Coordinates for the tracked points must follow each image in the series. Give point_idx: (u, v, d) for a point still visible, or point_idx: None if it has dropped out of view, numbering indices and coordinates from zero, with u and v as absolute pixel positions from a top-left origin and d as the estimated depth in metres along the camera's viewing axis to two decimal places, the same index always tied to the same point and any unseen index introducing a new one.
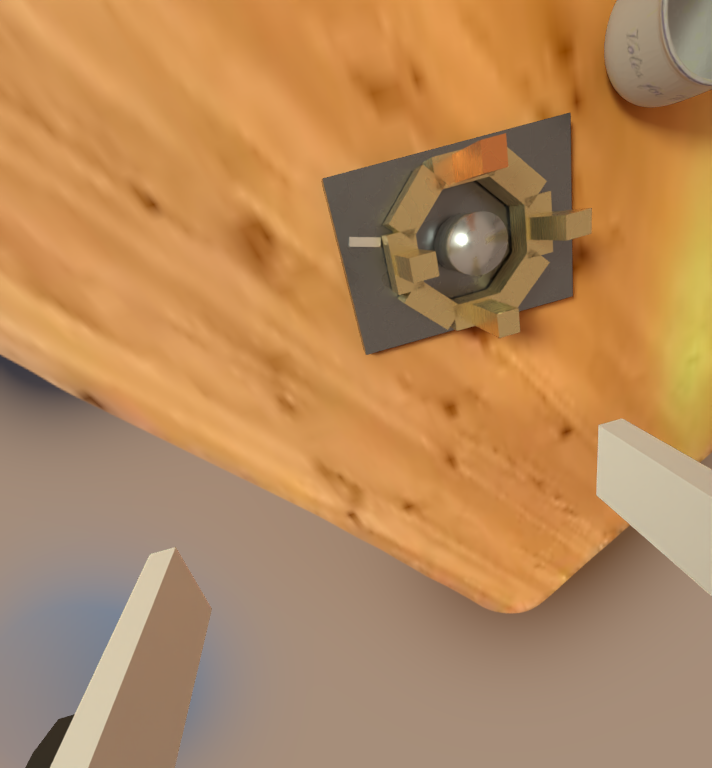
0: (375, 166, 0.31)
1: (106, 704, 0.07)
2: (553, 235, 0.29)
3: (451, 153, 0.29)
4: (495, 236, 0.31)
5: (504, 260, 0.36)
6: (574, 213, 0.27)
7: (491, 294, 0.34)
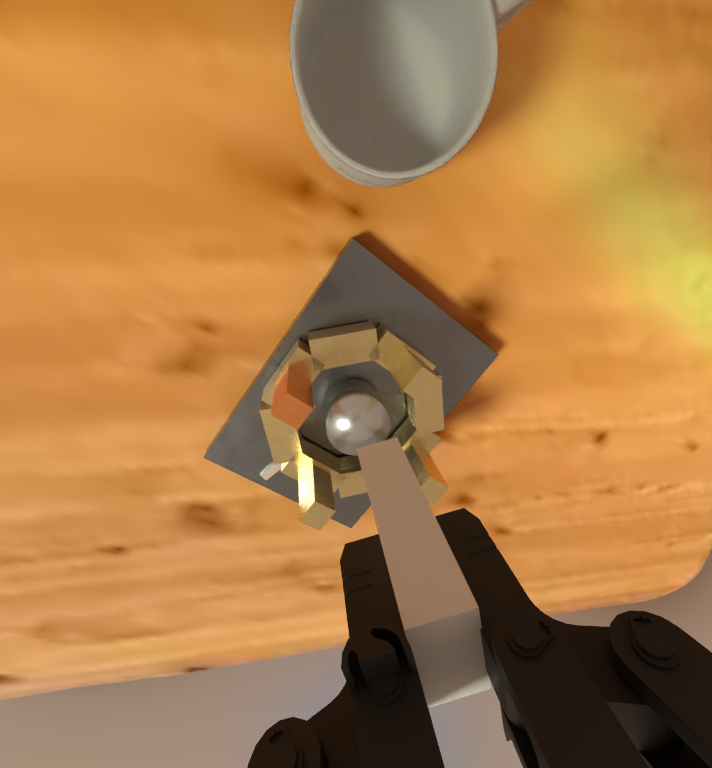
0: (232, 418, 0.31)
1: (399, 521, 0.10)
2: None
3: (273, 384, 0.28)
4: (367, 412, 0.28)
5: None
6: (410, 382, 0.24)
7: (410, 434, 0.31)
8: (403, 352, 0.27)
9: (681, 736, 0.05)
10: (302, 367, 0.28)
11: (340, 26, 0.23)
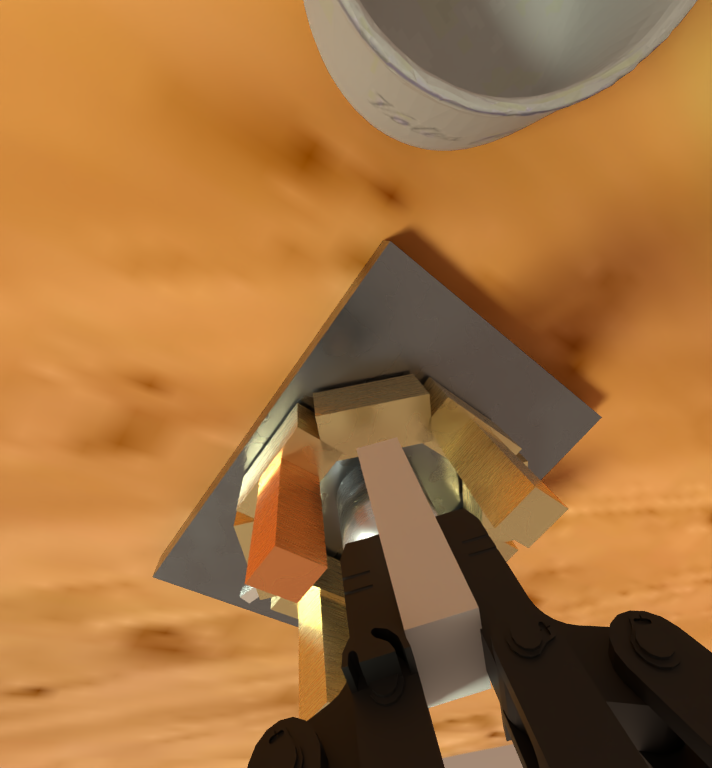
0: (195, 521, 0.20)
1: (399, 521, 0.10)
2: None
3: (256, 486, 0.17)
4: None
5: None
6: (509, 514, 0.13)
7: None
8: (477, 435, 0.16)
9: (681, 736, 0.05)
10: (304, 459, 0.16)
11: None
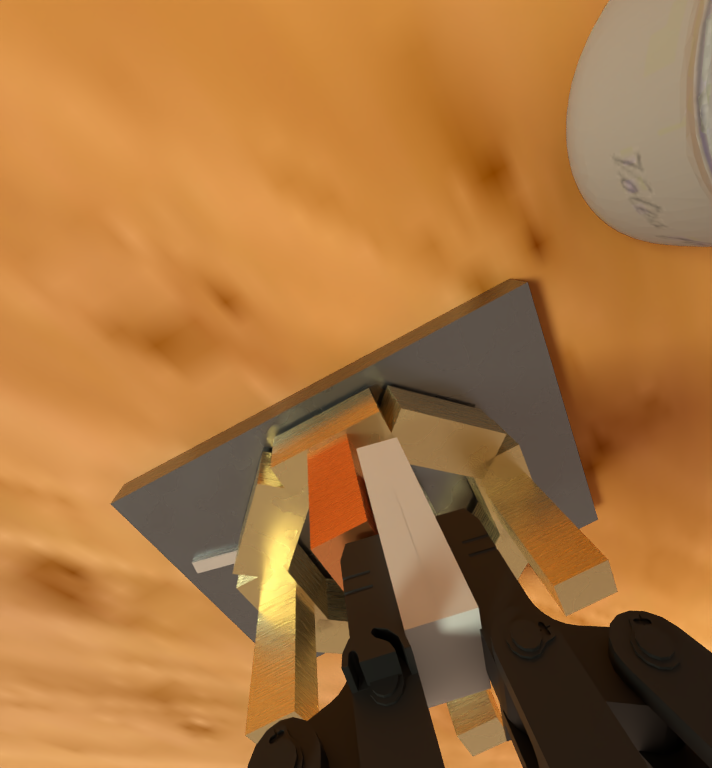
0: (195, 462, 0.18)
1: (399, 521, 0.10)
2: (537, 573, 0.15)
3: (305, 452, 0.15)
4: None
5: None
6: (571, 576, 0.13)
7: None
8: (533, 491, 0.16)
9: (681, 736, 0.05)
10: (365, 445, 0.15)
11: None
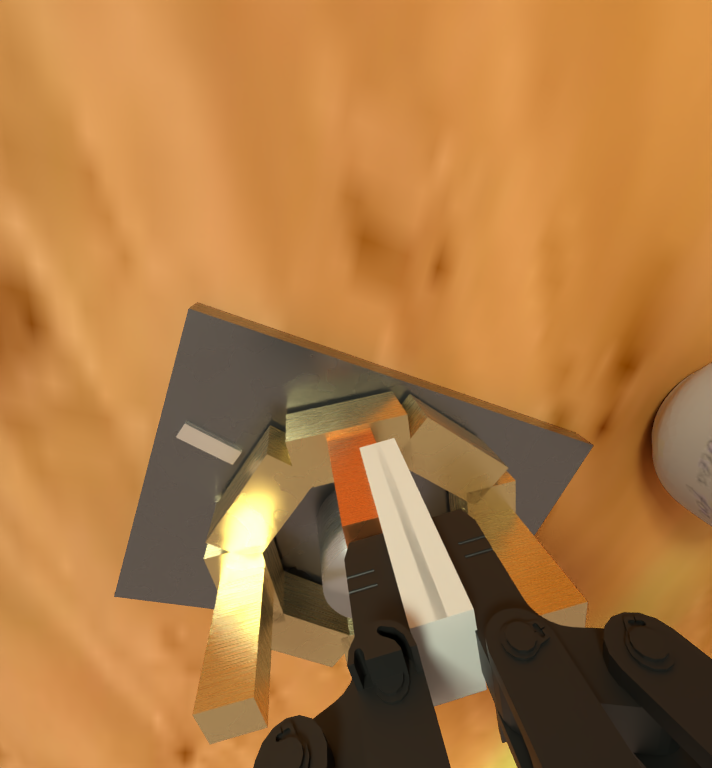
0: (297, 348, 0.16)
1: (403, 520, 0.10)
2: None
3: (325, 435, 0.15)
4: None
5: None
6: (552, 611, 0.13)
7: None
8: (519, 527, 0.17)
9: (676, 739, 0.05)
10: None
11: None
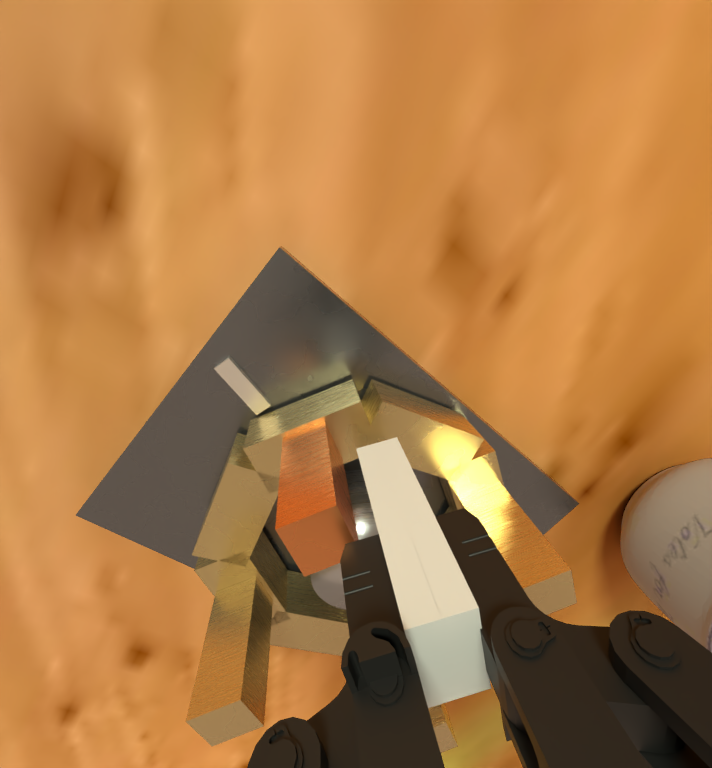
0: (362, 322, 0.16)
1: (399, 521, 0.10)
2: None
3: (281, 436, 0.15)
4: None
5: None
6: (534, 583, 0.13)
7: None
8: (504, 498, 0.16)
9: (681, 736, 0.05)
10: (343, 435, 0.15)
11: None
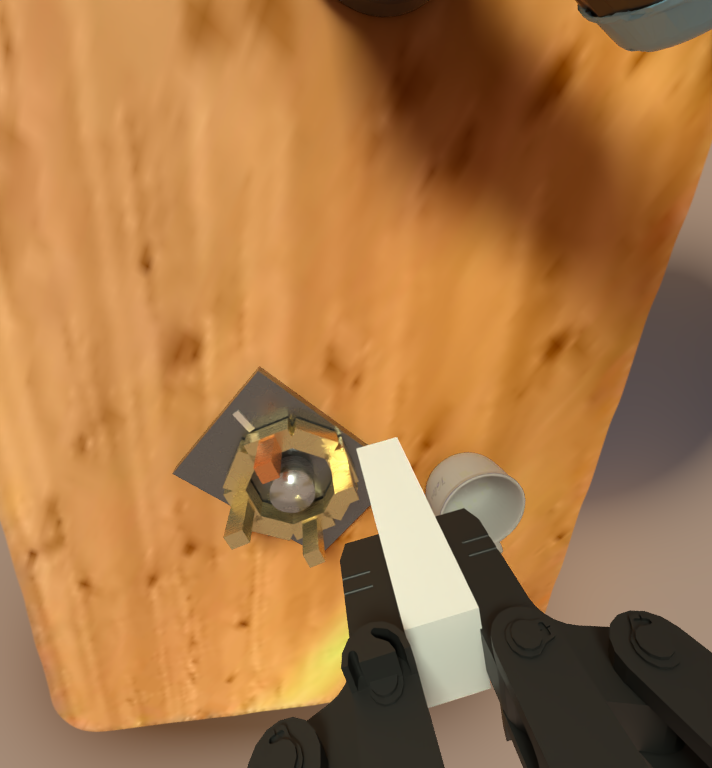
0: (291, 396, 0.41)
1: (399, 521, 0.10)
2: None
3: (257, 441, 0.40)
4: (304, 499, 0.42)
5: None
6: (341, 491, 0.38)
7: (318, 512, 0.45)
8: (345, 466, 0.41)
9: (681, 736, 0.05)
10: (281, 441, 0.40)
11: None
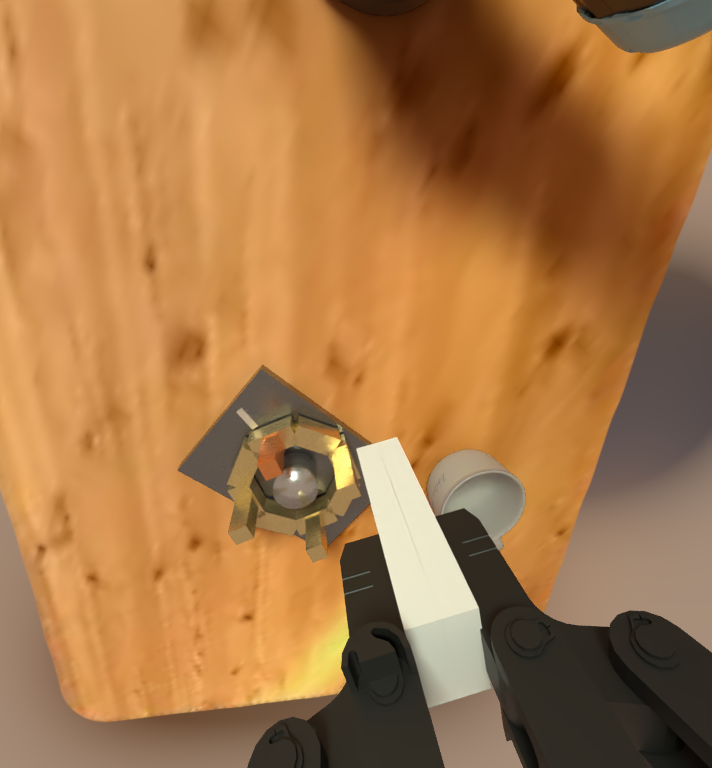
0: (294, 394, 0.42)
1: (399, 521, 0.10)
2: None
3: (261, 438, 0.40)
4: (307, 495, 0.42)
5: None
6: (343, 487, 0.38)
7: (321, 508, 0.45)
8: (348, 462, 0.42)
9: (681, 736, 0.05)
10: (284, 438, 0.41)
11: None
